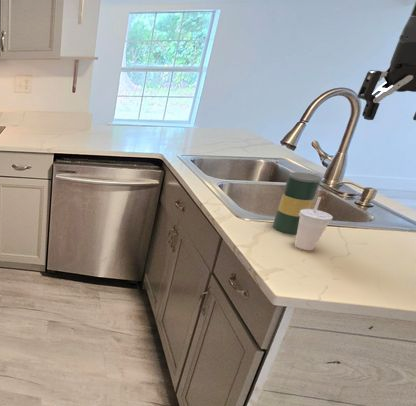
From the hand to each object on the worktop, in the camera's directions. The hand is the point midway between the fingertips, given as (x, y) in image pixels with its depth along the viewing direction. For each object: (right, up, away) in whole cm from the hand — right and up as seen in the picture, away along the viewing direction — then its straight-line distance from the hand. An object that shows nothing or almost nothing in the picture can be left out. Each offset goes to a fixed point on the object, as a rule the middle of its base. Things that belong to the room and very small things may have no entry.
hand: (392, 120), depth 80 cm
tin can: (-2, -26, +25) cm, 36 cm away
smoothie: (-5, -30, +16) cm, 35 cm away
